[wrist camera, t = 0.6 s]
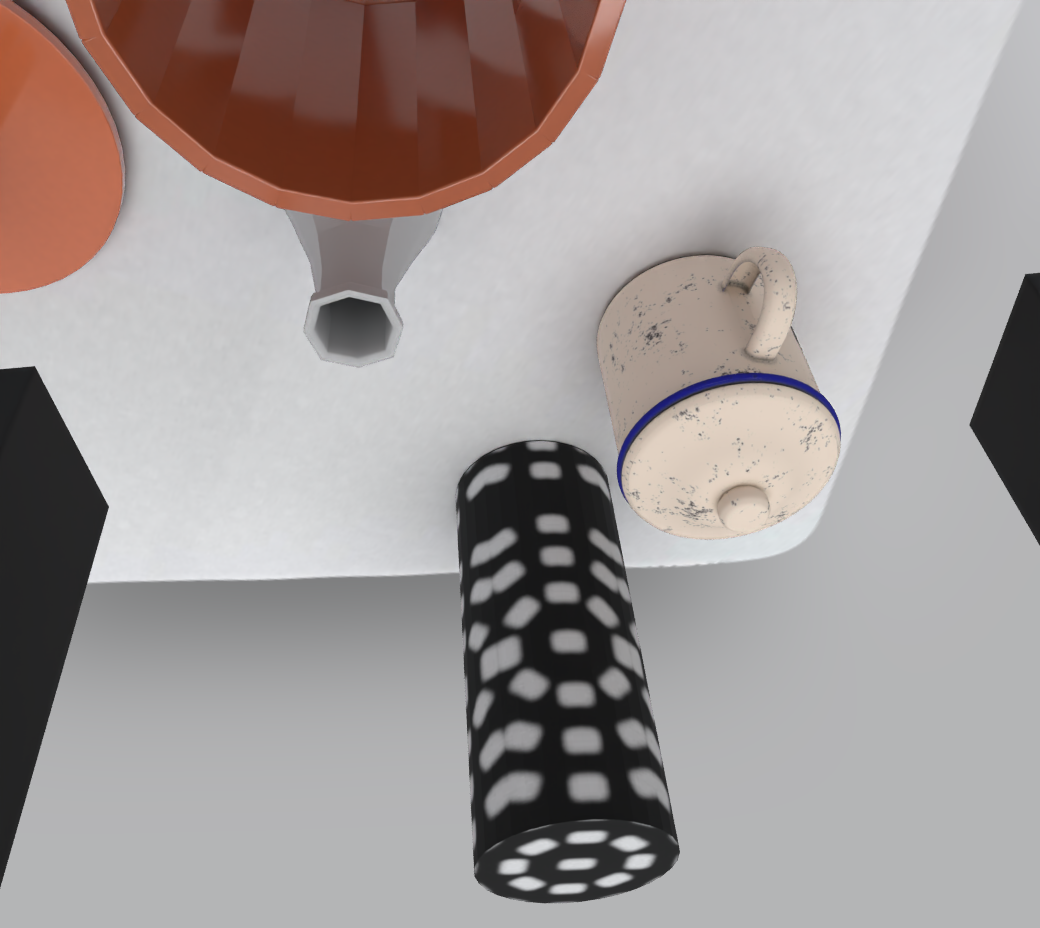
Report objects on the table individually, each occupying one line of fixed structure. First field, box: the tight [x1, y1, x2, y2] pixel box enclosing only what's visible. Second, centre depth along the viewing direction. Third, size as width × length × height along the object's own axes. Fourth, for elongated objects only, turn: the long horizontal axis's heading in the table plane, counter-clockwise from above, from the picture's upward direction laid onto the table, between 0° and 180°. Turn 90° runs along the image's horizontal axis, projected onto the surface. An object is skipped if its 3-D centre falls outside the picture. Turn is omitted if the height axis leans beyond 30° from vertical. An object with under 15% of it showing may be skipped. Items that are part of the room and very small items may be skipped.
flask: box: [285, 208, 443, 368], centre depth 35 cm, size 7×7×10 cm
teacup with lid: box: [597, 247, 841, 540], centre depth 41 cm, size 12×9×12 cm
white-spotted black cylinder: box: [456, 441, 680, 903], centre depth 47 cm, size 8×8×20 cm
